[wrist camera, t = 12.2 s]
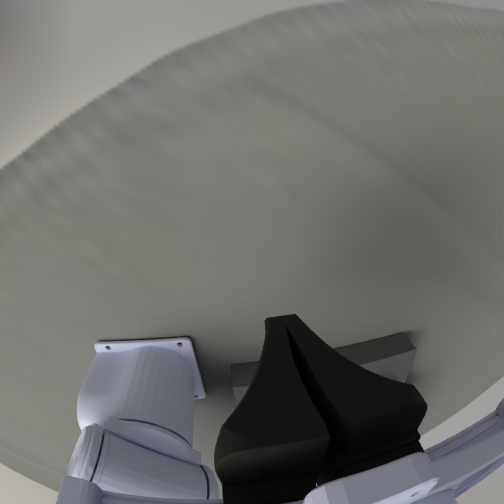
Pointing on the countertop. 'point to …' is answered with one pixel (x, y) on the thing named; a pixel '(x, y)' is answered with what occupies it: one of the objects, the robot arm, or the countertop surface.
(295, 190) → the countertop surface
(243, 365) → the plate
